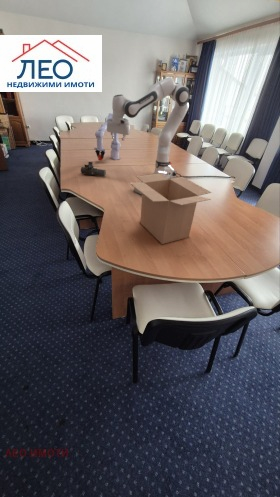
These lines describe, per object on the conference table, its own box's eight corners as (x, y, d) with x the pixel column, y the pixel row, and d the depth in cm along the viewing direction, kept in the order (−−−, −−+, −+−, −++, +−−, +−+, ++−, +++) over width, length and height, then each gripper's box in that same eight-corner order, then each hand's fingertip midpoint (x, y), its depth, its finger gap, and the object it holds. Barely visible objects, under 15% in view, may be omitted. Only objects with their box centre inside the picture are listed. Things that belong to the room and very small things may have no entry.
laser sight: (103, 178, 196) (102, 166, 190) (79, 175, 199) (78, 163, 193) (106, 175, 204) (106, 163, 198) (83, 172, 206) (82, 160, 201)
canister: (100, 160, 229) (100, 155, 226) (97, 159, 232) (97, 154, 229) (103, 159, 232) (103, 154, 229) (100, 158, 235) (100, 154, 232)
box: (210, 242, 124) (224, 196, 108) (157, 258, 109) (164, 208, 93) (167, 209, 154) (173, 169, 138) (121, 218, 140) (121, 175, 123)
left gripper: (91, 143, 224) (92, 157, 232) (102, 146, 217) (103, 160, 225) (96, 142, 228) (97, 156, 236) (107, 145, 222) (107, 159, 230)
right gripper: (104, 118, 172) (105, 138, 180) (127, 121, 165) (126, 142, 173) (109, 118, 176) (109, 137, 185) (131, 121, 169) (130, 140, 177)
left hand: (100, 158), depth 231 cm, fingers closed on canister, 5 cm apart
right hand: (118, 139), depth 179 cm, fingers open, 8 cm apart
